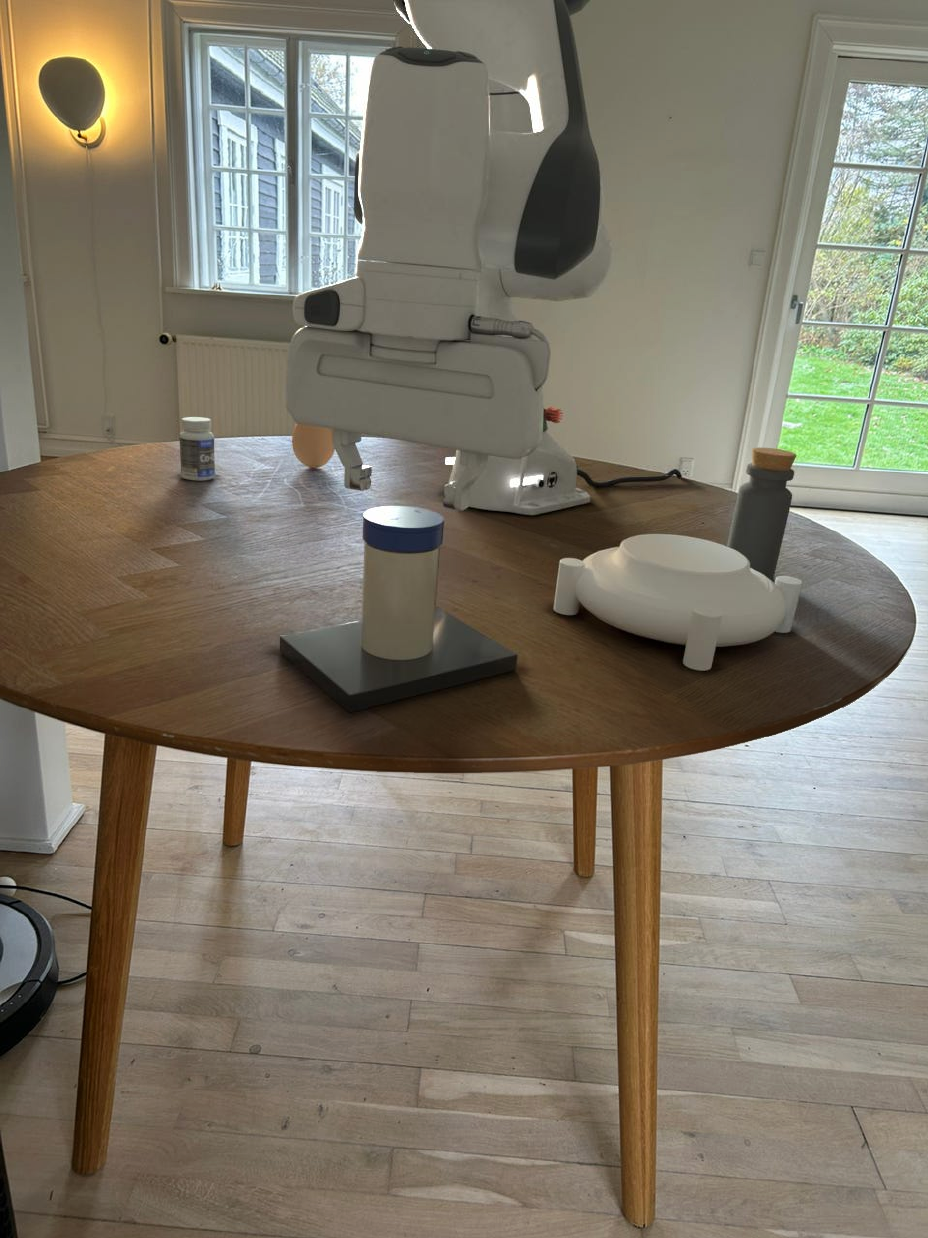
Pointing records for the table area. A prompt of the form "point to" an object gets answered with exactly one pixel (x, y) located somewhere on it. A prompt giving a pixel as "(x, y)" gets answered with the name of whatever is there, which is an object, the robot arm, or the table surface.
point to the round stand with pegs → (679, 594)
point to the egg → (312, 445)
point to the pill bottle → (197, 449)
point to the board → (394, 662)
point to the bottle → (763, 509)
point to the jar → (399, 602)
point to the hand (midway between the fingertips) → (405, 498)
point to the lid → (403, 528)
